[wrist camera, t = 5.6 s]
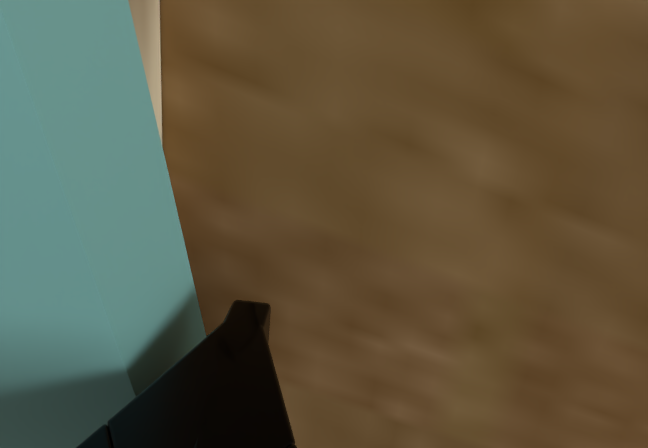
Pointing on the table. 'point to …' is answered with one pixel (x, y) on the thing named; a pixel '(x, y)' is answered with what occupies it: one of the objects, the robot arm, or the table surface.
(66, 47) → the hinged leg
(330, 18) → the table surface
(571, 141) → the table surface
